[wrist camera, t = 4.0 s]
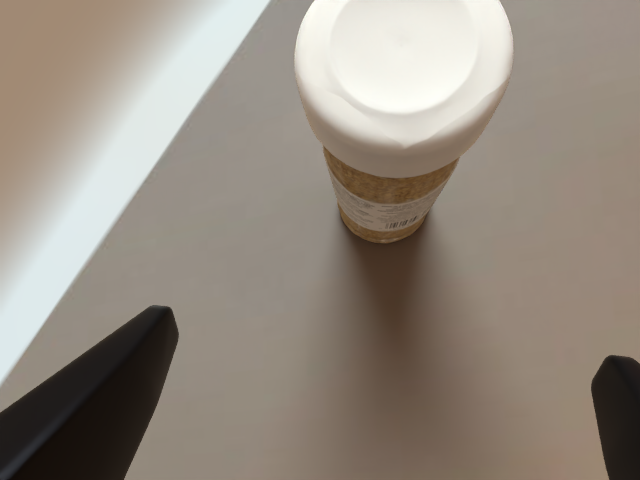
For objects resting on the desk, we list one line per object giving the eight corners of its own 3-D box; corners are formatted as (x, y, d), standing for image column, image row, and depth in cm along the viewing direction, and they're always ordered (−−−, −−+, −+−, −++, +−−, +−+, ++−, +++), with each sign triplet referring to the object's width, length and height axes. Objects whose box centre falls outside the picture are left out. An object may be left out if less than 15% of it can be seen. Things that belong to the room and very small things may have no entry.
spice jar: (415, 146, 22) (482, -86, 9) (440, 233, 22) (553, 115, 8) (326, 170, 23) (269, -22, 10) (348, 256, 22) (318, 178, 9)
